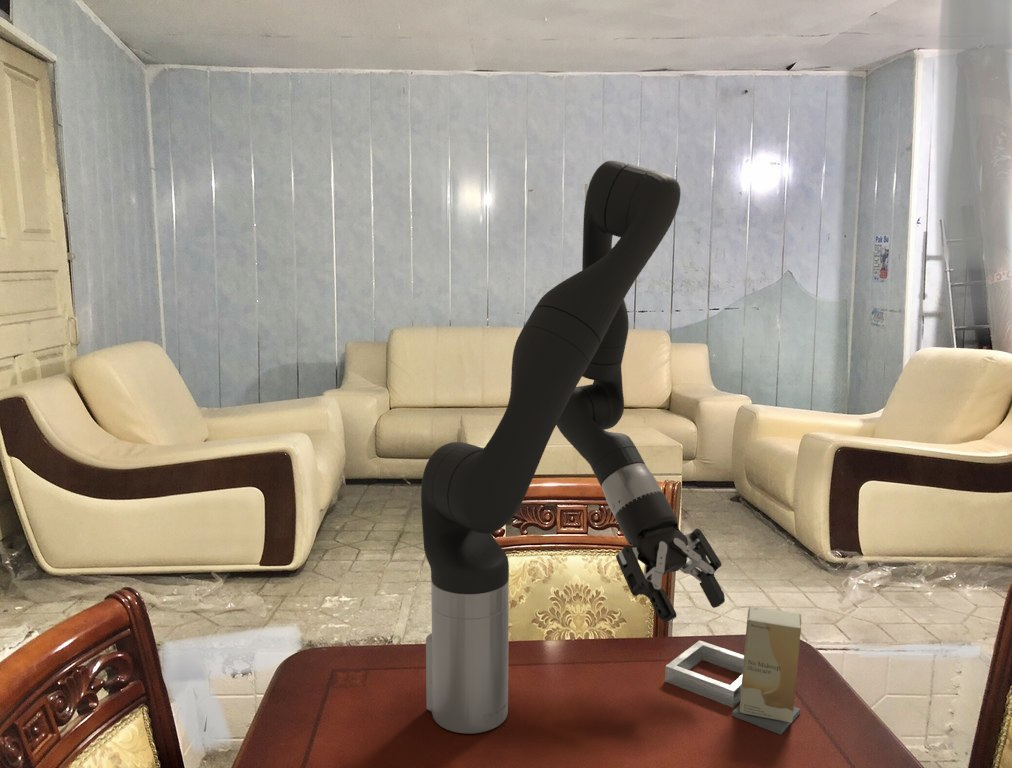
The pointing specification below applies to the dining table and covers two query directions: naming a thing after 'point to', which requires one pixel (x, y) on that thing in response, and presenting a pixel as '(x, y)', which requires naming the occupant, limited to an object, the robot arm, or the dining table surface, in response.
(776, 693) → the skincare box
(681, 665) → the grey square frame
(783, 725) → the pad
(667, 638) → the dining table surface
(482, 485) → the robot arm
